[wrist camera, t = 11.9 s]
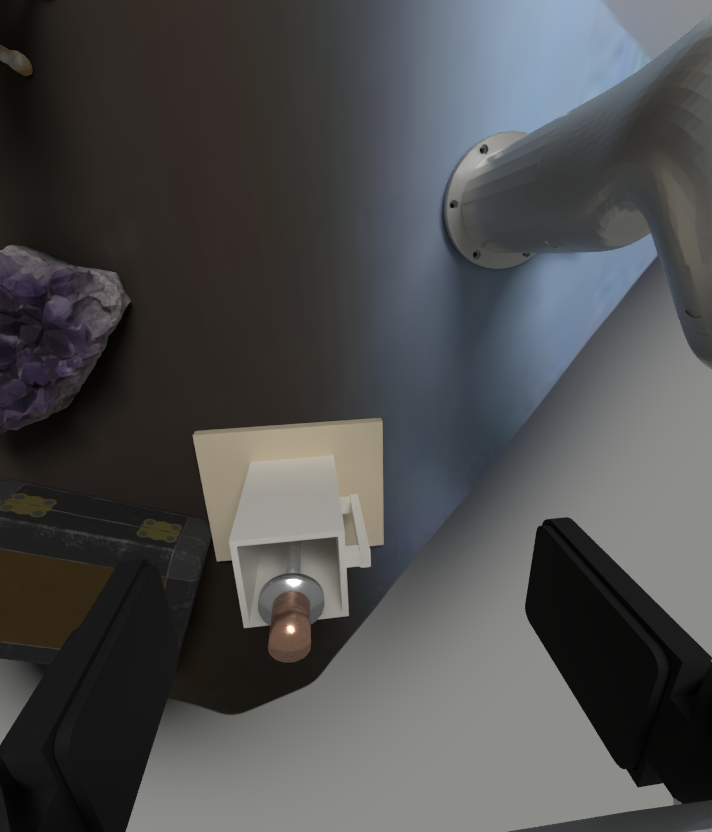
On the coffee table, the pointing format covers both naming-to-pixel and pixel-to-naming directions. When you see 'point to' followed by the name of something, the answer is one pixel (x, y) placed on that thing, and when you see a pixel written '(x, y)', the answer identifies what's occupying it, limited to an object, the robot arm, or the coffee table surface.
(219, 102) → the coffee table surface
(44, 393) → the geode
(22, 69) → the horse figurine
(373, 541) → the square white mug
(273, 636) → the plunger
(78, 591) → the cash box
